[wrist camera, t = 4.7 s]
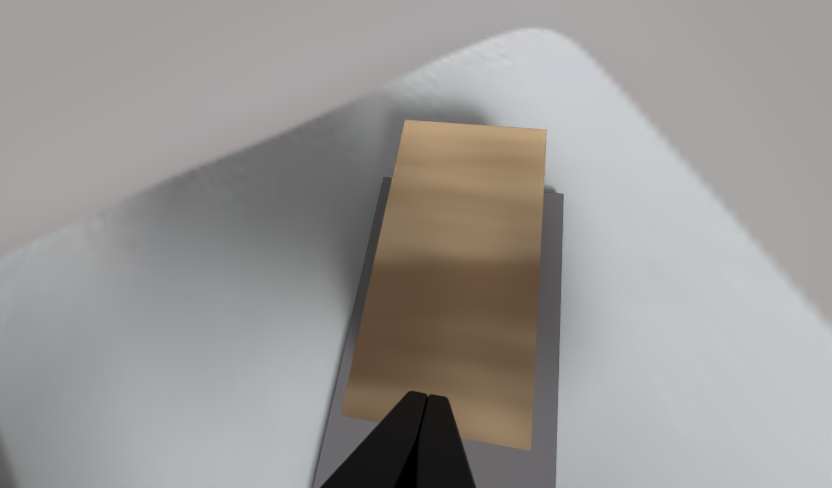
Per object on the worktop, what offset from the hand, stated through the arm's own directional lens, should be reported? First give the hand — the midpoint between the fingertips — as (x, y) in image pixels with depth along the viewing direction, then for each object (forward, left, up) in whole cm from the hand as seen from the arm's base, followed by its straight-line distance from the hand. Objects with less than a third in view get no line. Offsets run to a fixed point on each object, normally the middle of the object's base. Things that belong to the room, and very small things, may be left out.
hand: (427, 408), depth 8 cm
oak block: (-1, 0, -4) cm, 4 cm away
